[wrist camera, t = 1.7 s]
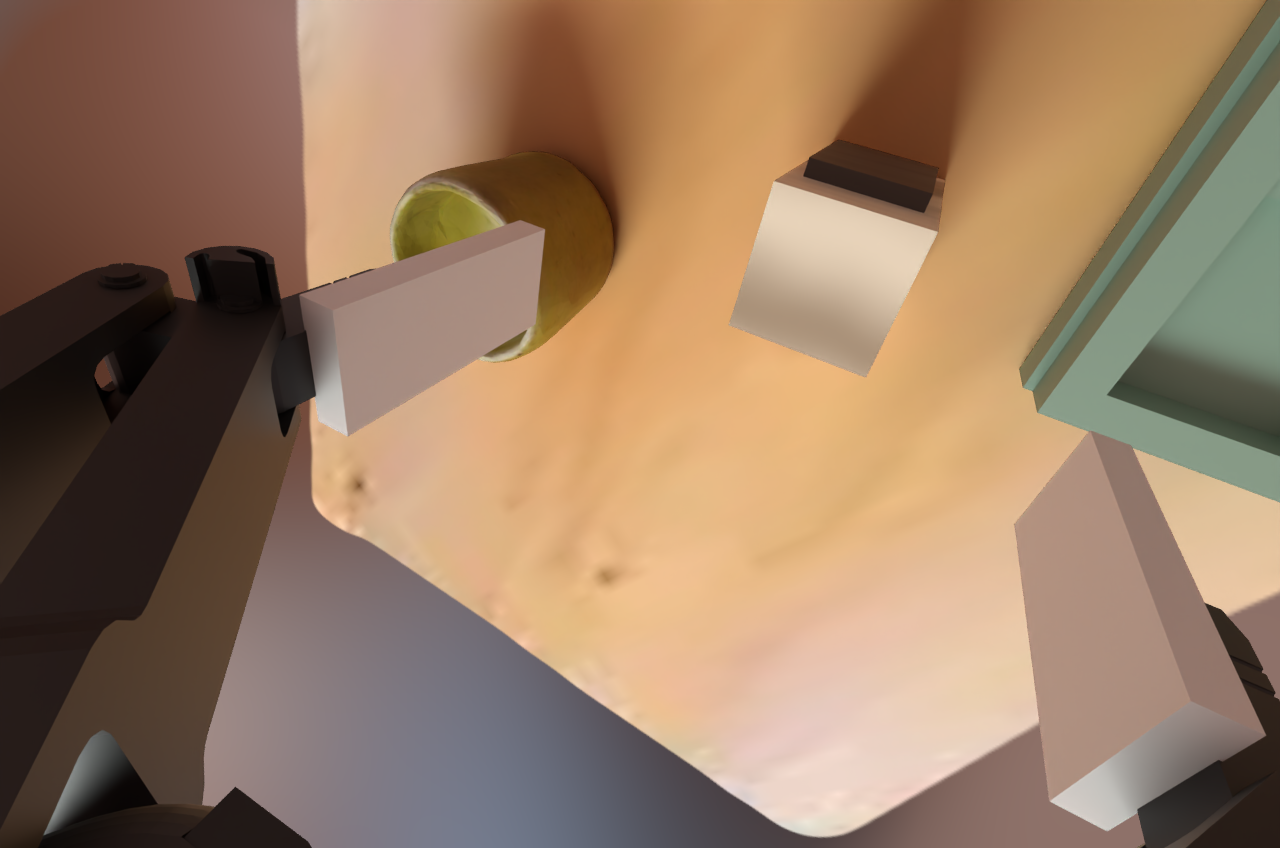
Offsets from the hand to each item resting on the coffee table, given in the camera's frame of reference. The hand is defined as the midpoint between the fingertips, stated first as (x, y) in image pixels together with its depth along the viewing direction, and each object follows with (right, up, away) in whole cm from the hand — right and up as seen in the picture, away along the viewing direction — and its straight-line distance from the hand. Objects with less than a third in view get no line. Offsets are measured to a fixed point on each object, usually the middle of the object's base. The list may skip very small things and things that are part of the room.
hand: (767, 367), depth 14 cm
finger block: (+7, +8, +13) cm, 16 cm away
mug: (-9, +9, +21) cm, 25 cm away
